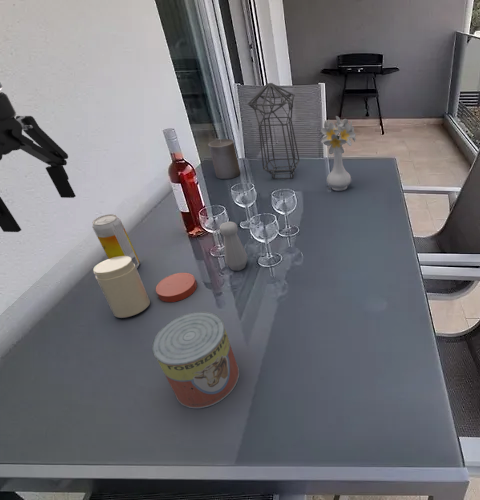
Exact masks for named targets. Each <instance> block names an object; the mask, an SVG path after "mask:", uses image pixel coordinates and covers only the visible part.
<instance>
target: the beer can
mask: <svg viewBox="0 0 480 500" xmlns="http://www.w3.org/2000/svg"><path fill="white" fill-rule="evenodd" d="M92 229H93V231H94V233H95V235H96V237H97V239H98V241H99V243H100V245H101V247H102V249H103V251H104V253H105V254H106V257H107V259H110V258H114V257H118V256H129V257H131V259H132V261H133V263H134V264H135V266H136V268H137V269H138V268H139V265H140V260H139V259H140V258H139V257H138V255H137V253H136V251H135V248H134V246H133V244H132V242H131V239H130V238H129V237H130V236H129V235H128V232H127V231H126V228H125V226H124V223H123V222H122V219H121V218H120V217H119V216H118V215H116V214H114V213H111V214H109V213H108V214H103V215H100V216H98V217H96V218H94V219H93V220H92Z"/></svg>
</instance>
